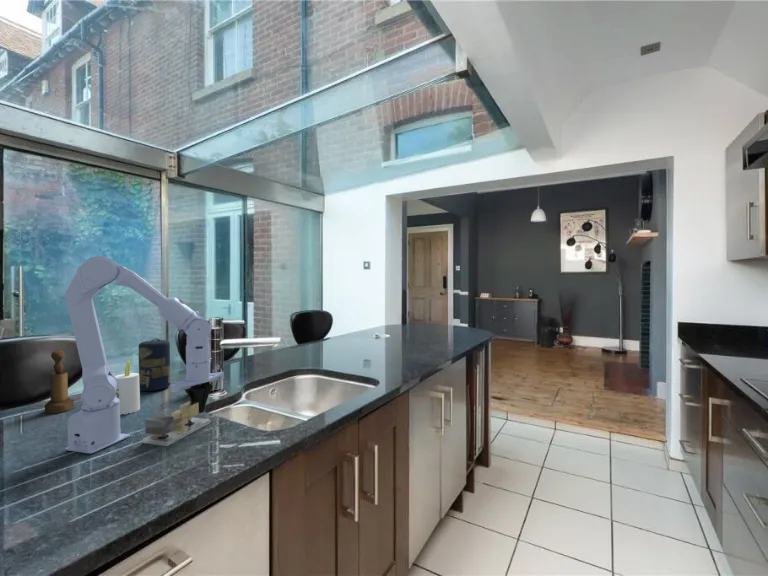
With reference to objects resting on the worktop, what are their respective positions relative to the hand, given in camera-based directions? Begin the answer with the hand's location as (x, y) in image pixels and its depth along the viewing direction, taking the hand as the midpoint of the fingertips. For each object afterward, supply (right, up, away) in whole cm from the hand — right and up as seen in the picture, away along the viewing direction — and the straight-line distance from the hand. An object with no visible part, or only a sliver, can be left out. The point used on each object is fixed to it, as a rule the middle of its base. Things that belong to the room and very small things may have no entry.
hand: (199, 412), depth 99 cm
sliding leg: (-2, -2, -3) cm, 4 cm away
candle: (-26, -3, +10) cm, 28 cm away
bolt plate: (-2, -3, -6) cm, 7 cm away
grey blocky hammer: (-3, -2, -6) cm, 7 cm away
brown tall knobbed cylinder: (-48, -3, +11) cm, 49 cm away
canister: (-32, -3, +32) cm, 45 cm away
